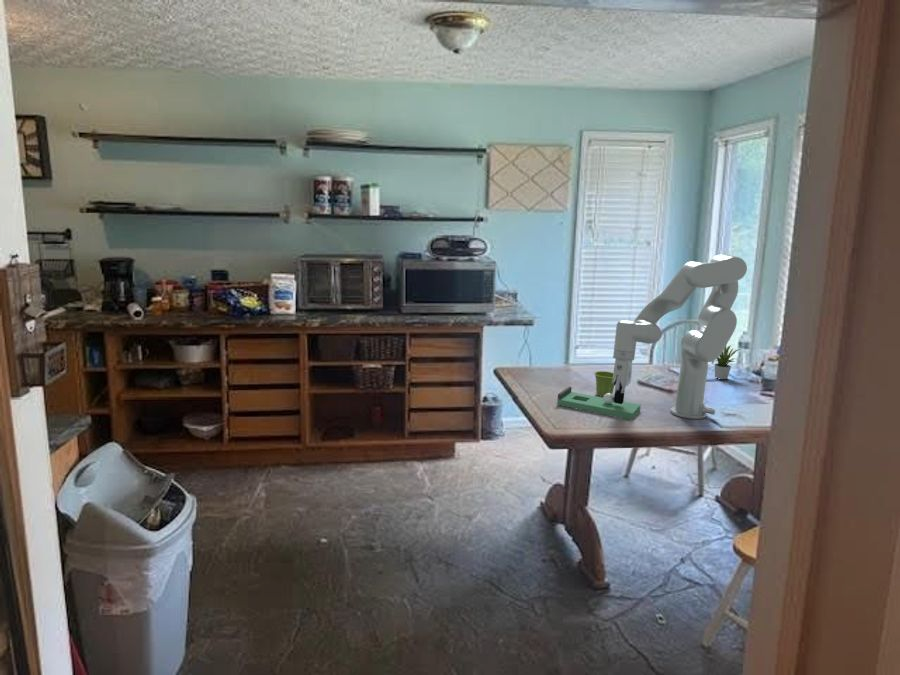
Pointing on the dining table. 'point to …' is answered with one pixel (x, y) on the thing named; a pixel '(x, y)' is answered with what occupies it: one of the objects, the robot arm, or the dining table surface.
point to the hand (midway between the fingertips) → (618, 402)
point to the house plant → (724, 364)
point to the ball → (608, 398)
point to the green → (597, 404)
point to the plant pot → (604, 383)
